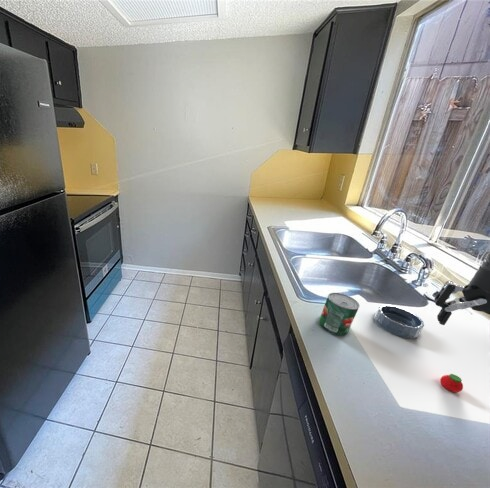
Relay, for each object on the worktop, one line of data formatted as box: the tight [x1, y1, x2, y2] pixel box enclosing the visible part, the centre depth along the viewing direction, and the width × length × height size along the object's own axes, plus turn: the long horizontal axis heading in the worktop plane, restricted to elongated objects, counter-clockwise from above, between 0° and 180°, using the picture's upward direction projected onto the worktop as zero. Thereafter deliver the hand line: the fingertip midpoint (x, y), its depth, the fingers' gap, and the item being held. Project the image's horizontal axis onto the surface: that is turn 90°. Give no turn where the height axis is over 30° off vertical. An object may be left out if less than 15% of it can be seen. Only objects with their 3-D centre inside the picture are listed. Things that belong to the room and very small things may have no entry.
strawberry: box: [440, 373, 464, 393], centre depth 61 cm, size 4×4×4 cm
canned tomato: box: [318, 292, 360, 337], centre depth 77 cm, size 8×8×11 cm
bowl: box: [373, 304, 425, 339], centre depth 80 cm, size 11×11×5 cm
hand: (466, 331), depth 59 cm, fingers open, 8 cm apart
